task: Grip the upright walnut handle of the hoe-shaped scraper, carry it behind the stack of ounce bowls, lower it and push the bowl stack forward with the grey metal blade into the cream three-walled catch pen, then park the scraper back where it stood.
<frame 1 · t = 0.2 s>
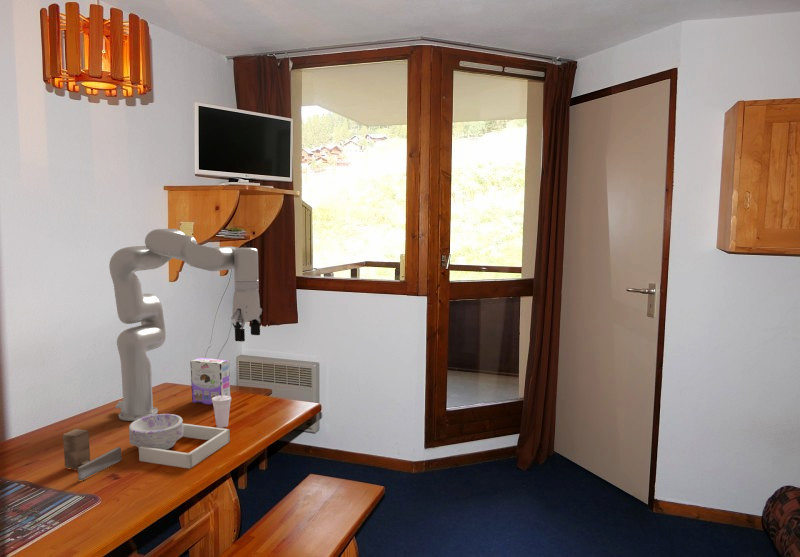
hand: (247, 337, 184), 31 cm above the table, fingers open, 9 cm apart
paper bowls: (157, 447, 173), on the table
candy box: (211, 402, 215), on the table
catch pen: (186, 450, 171), on the table
scraper: (77, 466, 160), on the table
smoothie: (222, 426, 191), on the table
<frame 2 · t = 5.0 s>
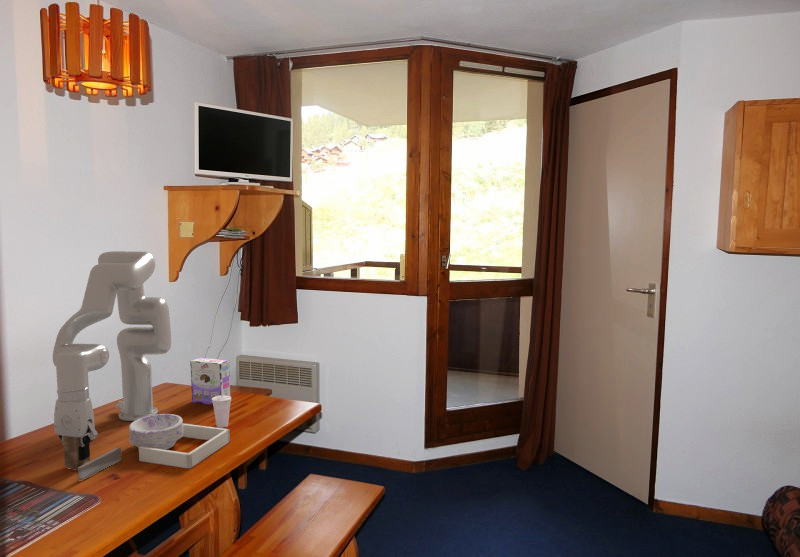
hand: (77, 456, 159), 3 cm above the table, fingers closed on scraper, 4 cm apart
scraper: (77, 466, 160), on the table, touching gripper
everything else where it was.
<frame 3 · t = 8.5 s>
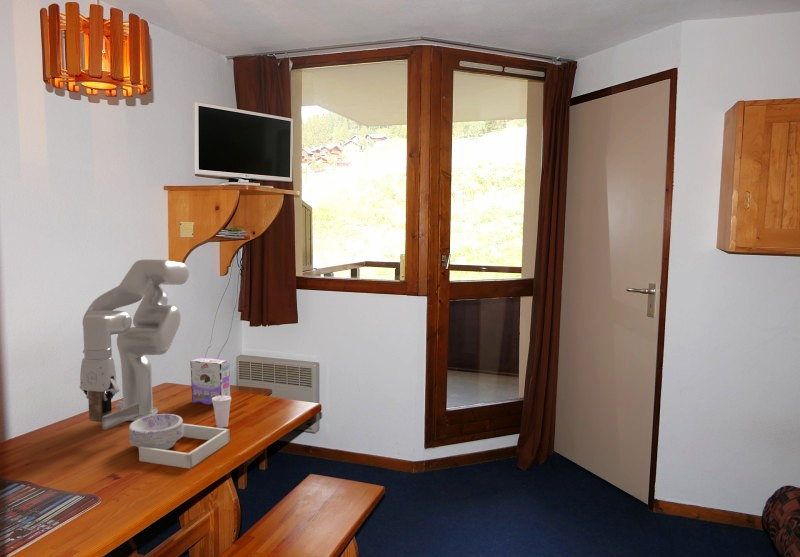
hand: (100, 410, 177), 10 cm above the table, fingers closed on scraper, 4 cm apart
scraper: (100, 419, 178), point 7 cm above the table, touching gripper
everything else where it was.
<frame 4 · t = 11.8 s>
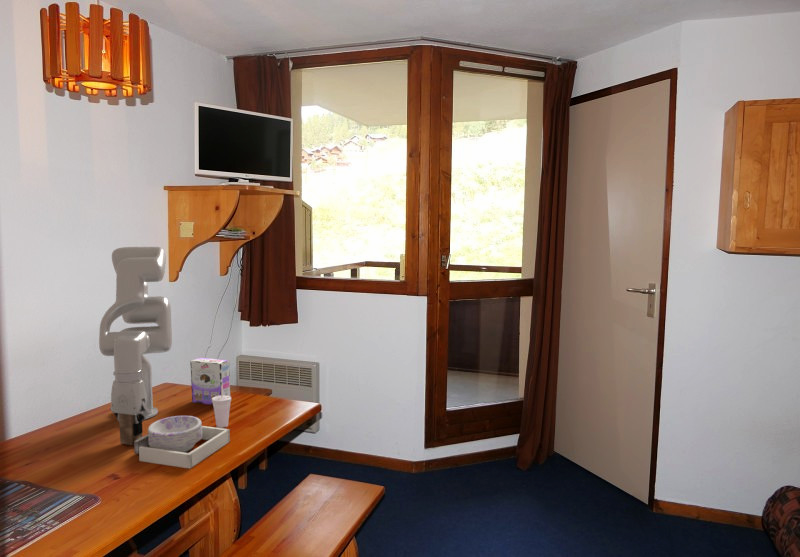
hand: (131, 432, 176), 3 cm above the table, fingers closed on scraper, 4 cm apart
paper bowls: (176, 449, 172), on the table, touching scraper
scraper: (131, 441, 176), on the table, touching gripper, paper bowls
everything else where it was.
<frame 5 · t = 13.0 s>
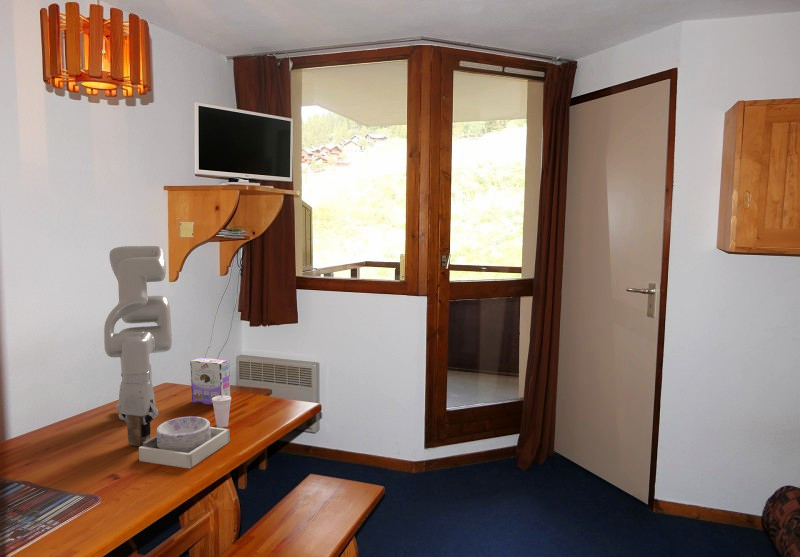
hand: (139, 434, 175), 3 cm above the table, fingers closed on scraper, 4 cm apart
paper bowls: (184, 450, 171), on the table, touching scraper
scraper: (139, 442, 175), on the table, touching gripper, paper bowls
everything else where it was.
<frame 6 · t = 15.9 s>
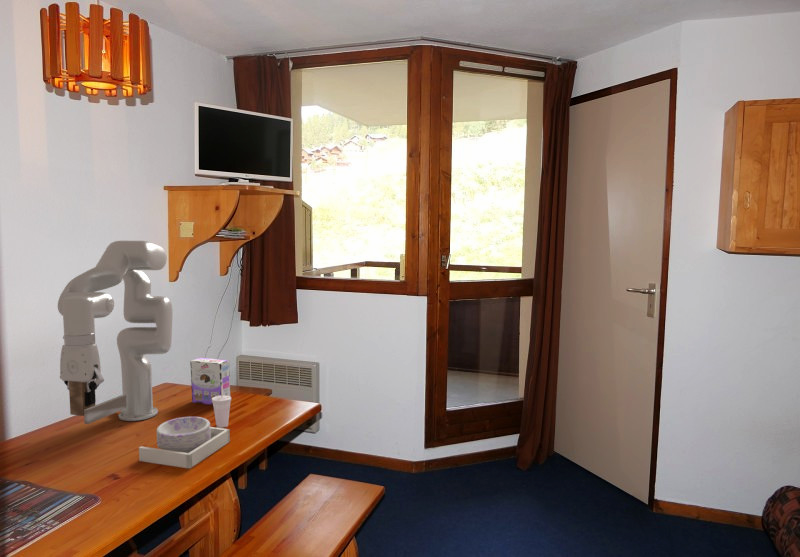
hand: (82, 403, 159), 18 cm above the table, fingers closed on scraper, 4 cm apart
paper bowls: (184, 450, 171), on the table
scraper: (83, 412, 159), point 15 cm above the table, touching gripper
everything else where it was.
when the fingers open (4 cm above the table, at t = 18.4 s): scraper drops 1 cm, on the table.
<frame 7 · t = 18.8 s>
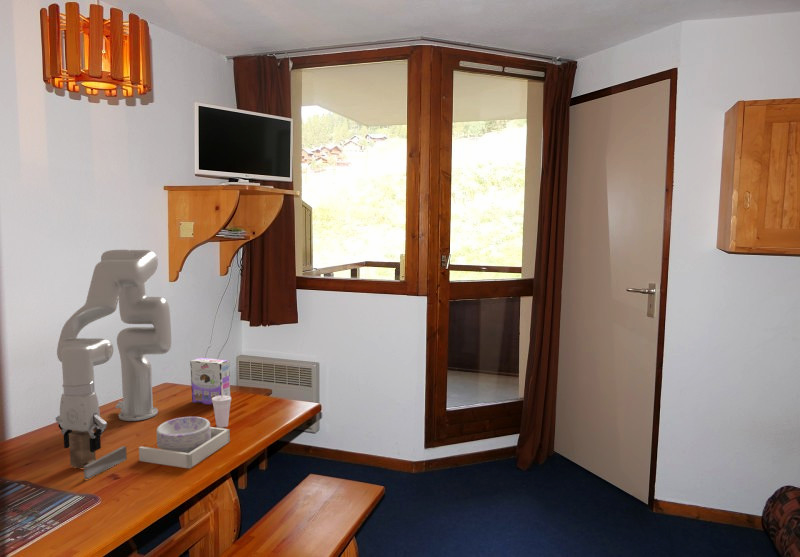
hand: (82, 448, 160), 5 cm above the table, fingers open, 8 cm apart
scraper: (83, 465, 160), on the table
everything else where it was.
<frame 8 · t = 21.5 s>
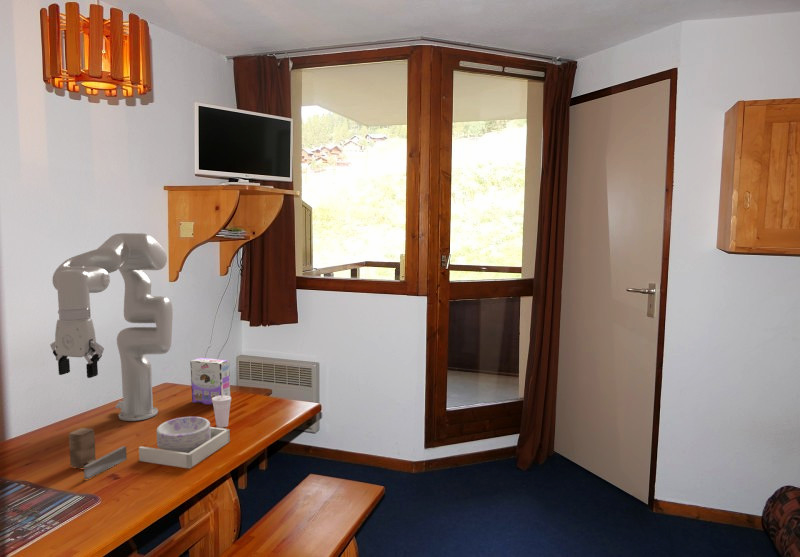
hand: (78, 375, 157), 26 cm above the table, fingers open, 9 cm apart
nothing on the table moved.
at the end: paper bowls inside the target area (1.1 cm from its centre), on the table; paper bowls tilted 0°; the gripper is holding nothing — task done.
